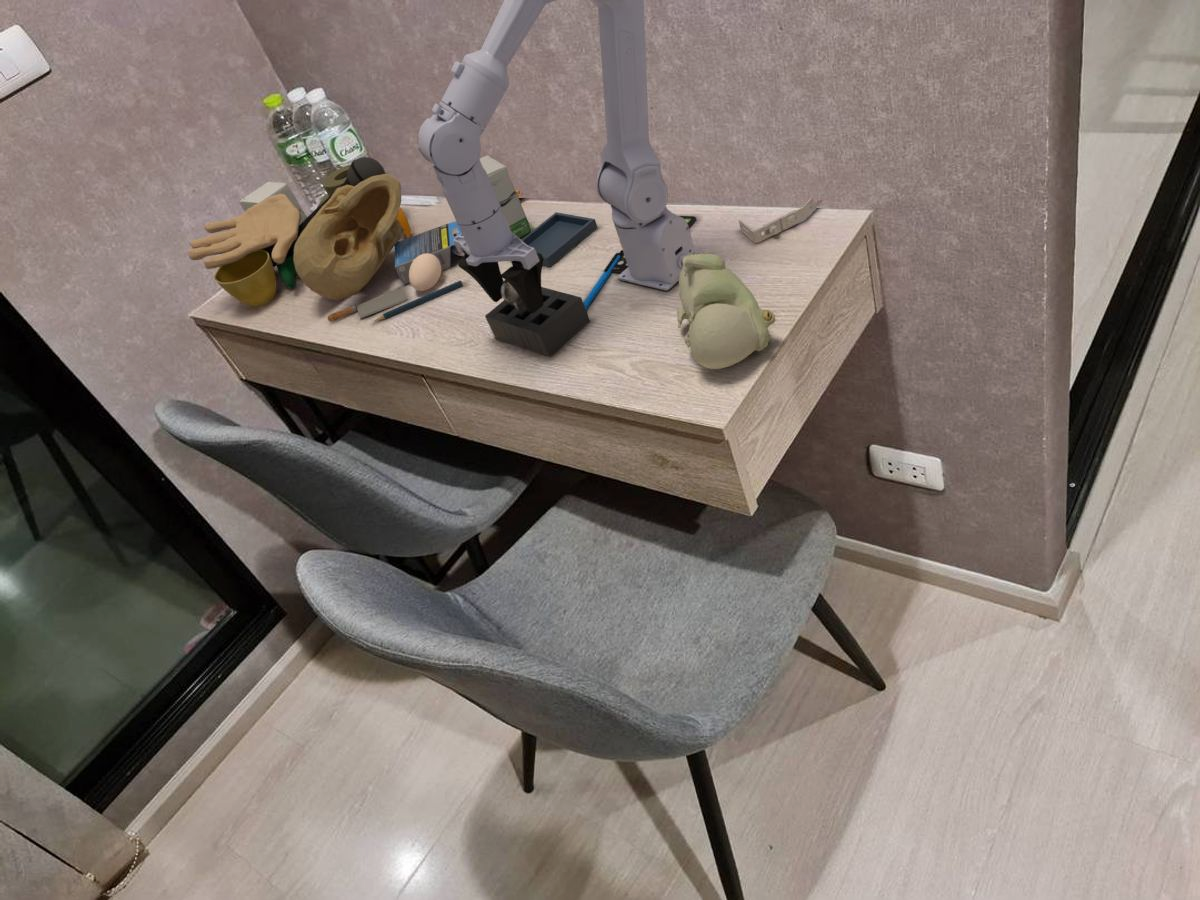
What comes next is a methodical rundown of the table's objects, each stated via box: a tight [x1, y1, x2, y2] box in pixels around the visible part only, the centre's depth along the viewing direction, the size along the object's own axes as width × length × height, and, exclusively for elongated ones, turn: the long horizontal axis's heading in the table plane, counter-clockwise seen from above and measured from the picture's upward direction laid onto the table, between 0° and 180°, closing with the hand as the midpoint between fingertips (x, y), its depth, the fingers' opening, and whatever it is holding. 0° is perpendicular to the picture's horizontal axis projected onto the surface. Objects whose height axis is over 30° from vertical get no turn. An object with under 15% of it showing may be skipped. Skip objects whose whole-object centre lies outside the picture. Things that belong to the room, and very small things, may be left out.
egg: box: [409, 253, 442, 292], centre depth 136 cm, size 5×5×7 cm
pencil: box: [374, 280, 464, 322], centre depth 134 cm, size 1×1×15 cm
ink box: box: [479, 154, 533, 239], centre depth 139 cm, size 9×5×12 cm, turn 29°
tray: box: [521, 211, 598, 268], centre depth 135 cm, size 9×11×2 cm
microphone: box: [298, 156, 386, 236], centre depth 150 cm, size 7×7×20 cm
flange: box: [317, 163, 389, 208], centre depth 155 cm, size 5×15×15 cm
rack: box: [484, 286, 591, 358], centre depth 116 cm, size 12×8×4 cm
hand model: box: [187, 194, 301, 270], centre depth 149 cm, size 19×5×20 cm
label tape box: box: [394, 221, 462, 286], centre depth 142 cm, size 9×4×12 cm
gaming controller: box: [276, 254, 300, 289], centre depth 155 cm, size 9×4×6 cm
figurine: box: [676, 253, 777, 370], centre depth 101 cm, size 10×16×10 cm
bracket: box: [738, 197, 823, 244], centre depth 118 cm, size 2×6×15 cm
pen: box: [583, 249, 623, 310], centre depth 120 cm, size 1×19×1 cm, turn 155°
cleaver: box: [327, 285, 409, 323], centre depth 138 cm, size 13×1×5 cm
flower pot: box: [214, 250, 277, 308], centre depth 152 cm, size 10×10×7 cm
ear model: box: [293, 173, 403, 300], centre depth 140 cm, size 13×20×20 cm
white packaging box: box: [238, 181, 308, 225], centre depth 162 cm, size 7×7×13 cm
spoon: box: [501, 279, 529, 320], centre depth 114 cm, size 1×3×10 cm, turn 138°
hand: (518, 303), depth 113 cm, fingers open, 7 cm apart
